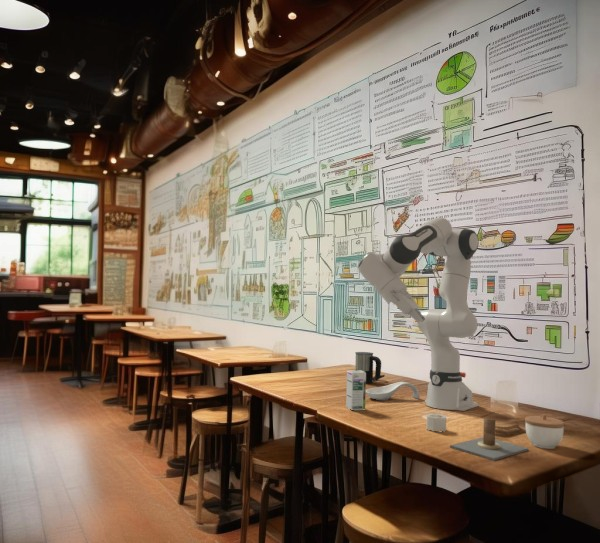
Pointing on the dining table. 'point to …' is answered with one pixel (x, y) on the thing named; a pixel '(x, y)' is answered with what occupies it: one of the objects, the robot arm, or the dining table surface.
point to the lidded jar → (544, 431)
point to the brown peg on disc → (489, 436)
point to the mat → (473, 448)
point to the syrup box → (356, 390)
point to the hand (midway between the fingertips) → (422, 321)
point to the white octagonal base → (436, 422)
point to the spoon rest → (389, 391)
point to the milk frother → (368, 365)
